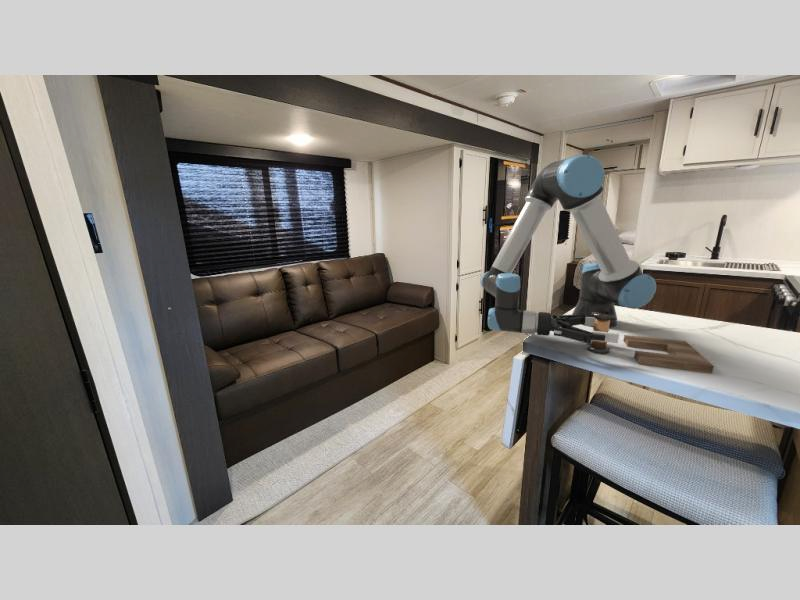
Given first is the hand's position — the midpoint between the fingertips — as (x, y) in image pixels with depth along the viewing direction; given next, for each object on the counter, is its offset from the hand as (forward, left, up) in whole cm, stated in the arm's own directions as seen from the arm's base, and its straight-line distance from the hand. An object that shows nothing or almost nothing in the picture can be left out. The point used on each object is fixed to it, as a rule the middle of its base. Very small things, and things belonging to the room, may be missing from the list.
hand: (613, 330), depth 97 cm
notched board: (-2, +14, -7) cm, 16 cm away
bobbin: (0, -3, -7) cm, 8 cm away
